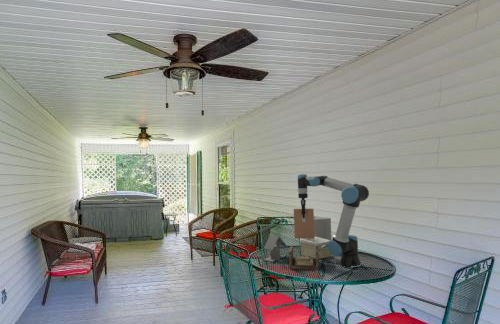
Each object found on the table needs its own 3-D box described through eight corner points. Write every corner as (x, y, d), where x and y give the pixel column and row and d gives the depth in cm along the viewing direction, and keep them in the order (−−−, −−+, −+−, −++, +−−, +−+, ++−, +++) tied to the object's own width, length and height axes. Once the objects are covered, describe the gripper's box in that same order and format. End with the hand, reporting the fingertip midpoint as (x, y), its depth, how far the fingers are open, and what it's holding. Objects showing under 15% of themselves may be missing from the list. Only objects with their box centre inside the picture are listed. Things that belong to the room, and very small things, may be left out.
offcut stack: (295, 265, 251) (294, 256, 251) (313, 266, 248) (313, 256, 248) (294, 268, 245) (294, 258, 245) (313, 268, 242) (313, 259, 242)
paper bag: (305, 248, 306) (304, 218, 306) (315, 245, 316) (314, 216, 316) (322, 251, 292) (321, 220, 292) (332, 248, 302) (331, 217, 302)
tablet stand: (273, 263, 265) (272, 238, 265) (264, 261, 271) (263, 236, 271) (286, 257, 278) (285, 234, 278) (277, 255, 285) (276, 232, 285)
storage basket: (299, 255, 284) (298, 238, 285) (313, 252, 293) (313, 235, 293) (318, 261, 264) (317, 243, 264) (333, 258, 272) (332, 240, 272)
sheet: (295, 237, 272) (293, 208, 273) (314, 237, 269) (313, 208, 269) (294, 238, 270) (293, 209, 270) (314, 238, 267) (313, 209, 267)
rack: (291, 263, 262) (290, 245, 262) (318, 263, 258) (318, 246, 258) (289, 270, 244) (288, 251, 245) (318, 271, 240) (317, 252, 240)
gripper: (298, 192, 278) (300, 220, 278) (297, 194, 263) (298, 223, 263) (307, 192, 277) (309, 220, 277) (307, 193, 262) (308, 223, 261)
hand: (304, 221), depth 270 cm, fingers closed on sheet, 2 cm apart
